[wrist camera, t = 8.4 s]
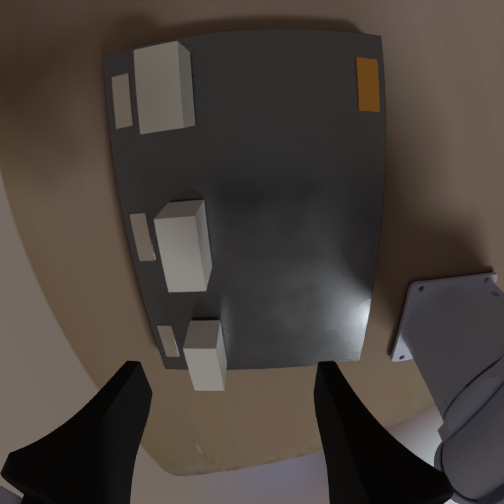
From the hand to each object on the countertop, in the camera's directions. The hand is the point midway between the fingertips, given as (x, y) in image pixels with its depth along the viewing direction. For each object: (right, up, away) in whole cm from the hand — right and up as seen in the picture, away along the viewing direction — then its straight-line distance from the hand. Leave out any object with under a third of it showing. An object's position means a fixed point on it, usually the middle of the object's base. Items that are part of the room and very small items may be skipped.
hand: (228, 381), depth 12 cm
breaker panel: (+1, +7, +7) cm, 10 cm away
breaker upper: (-2, -1, +9) cm, 9 cm away
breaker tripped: (-3, +13, +2) cm, 14 cm away
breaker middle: (-3, +6, +6) cm, 9 cm away
